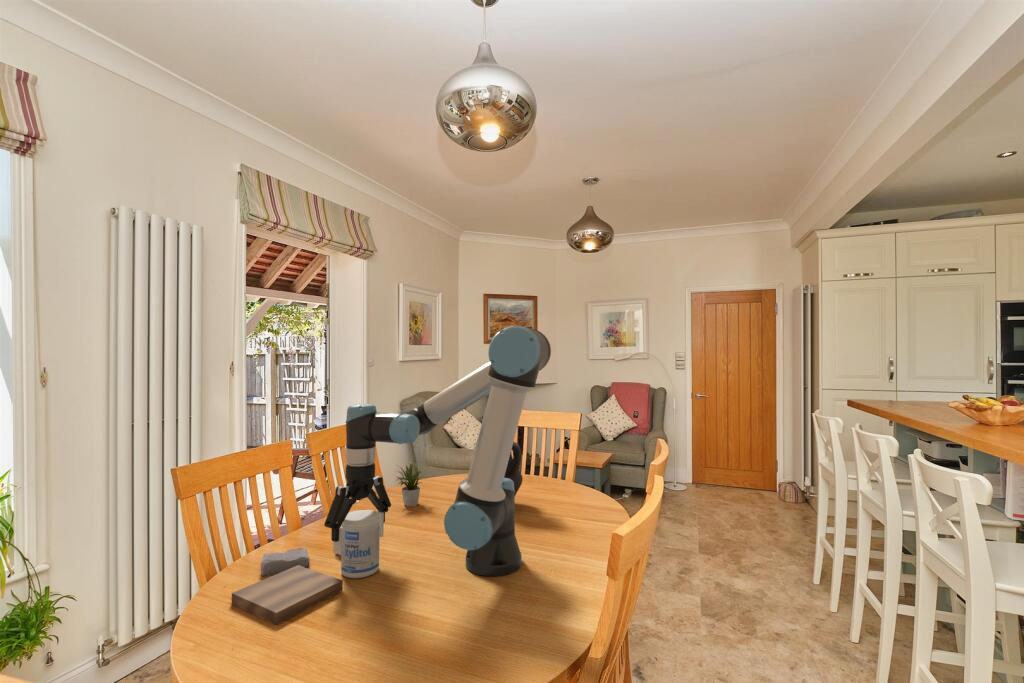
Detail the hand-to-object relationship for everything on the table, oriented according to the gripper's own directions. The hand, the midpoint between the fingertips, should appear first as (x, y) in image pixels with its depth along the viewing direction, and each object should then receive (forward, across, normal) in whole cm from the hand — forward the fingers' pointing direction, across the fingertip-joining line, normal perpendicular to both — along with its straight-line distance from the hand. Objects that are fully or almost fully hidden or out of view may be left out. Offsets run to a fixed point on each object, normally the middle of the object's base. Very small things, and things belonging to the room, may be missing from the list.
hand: (359, 544), depth 126 cm
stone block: (+8, +8, -20) cm, 23 cm away
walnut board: (+7, +18, -4) cm, 20 cm away
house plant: (+7, -50, -30) cm, 59 cm away
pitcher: (+7, -63, +2) cm, 64 cm away
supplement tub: (+7, 0, 0) cm, 7 cm away
